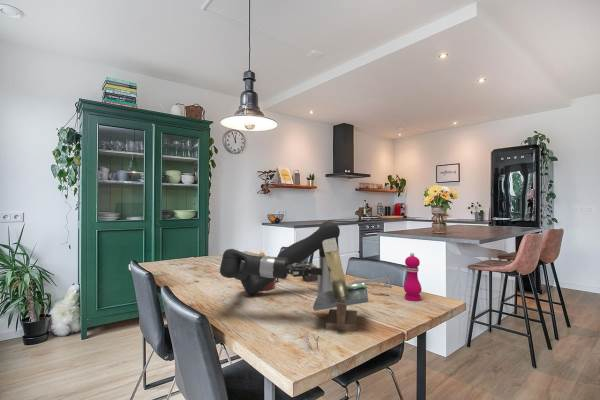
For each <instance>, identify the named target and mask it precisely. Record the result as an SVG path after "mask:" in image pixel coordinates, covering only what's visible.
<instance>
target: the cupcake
mask: <svg viewBox="0 0 600 400" xmlns="http://www.w3.org/2000/svg"><path fill="white" fill-rule="evenodd" d="M302 264H306V265H310V266H311V267H313V268H318V266H317V265H315V263H313V262H312V261H309V262H307V261H303V263H302ZM301 277H302V281H304V282H307V283H314V282H318V275H312V274H311V275H309V276H301Z"/></svg>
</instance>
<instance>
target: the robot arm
mask: <svg viewBox="0 0 600 400" xmlns="http://www.w3.org/2000/svg"><path fill="white" fill-rule="evenodd" d="M340 233H341V230H340V227H339V226H338V224H336V223H335V222H334V221H331V220H328V221H327V220H326V221H323V222H322V223H321V224H320V225H319V227H318V229H316V230H315V231H314V232H313V233H312V234H310V235H308V236H307V237H305V238H303V239H300V240H298V241H295V242H294V243H292V244H290V245H289V246H287V247H286V248H284V249H283V250H281V251H280V252H278V255H277V256H270V255H267V256H268V257H262V256H259V255H252V254H247V253H245V252H242V251H239V250H237V249H234V248H229V249H226V250H225V251H224V252H223V254H222V257H221V264H220V267H219V273H220V275H221V276H222V277H223V278H227V279H235V280H237V281H240V283H241V285H242V287H243V290H244V291H245V292H246V293H245V294H247V296H253V295H256V294H257V293H259V292H261V290H262V289H263V288H265V287H266V286H267V285H269V284H270V283H271V282H272V281H274V280H275V281H276V280H286V279H287V277H288V275H291V276H292V277H294V278H296V277H302V276H309V275H311V274H312V275H318V280H317V294H319V293H321V292H327V291H333V289H332V285H331V280H330V276H329V271H328V266H327V262H326V257H325V253H324V249H323V244H322V242H323V241H324V240H326V239H331V238H336V243H337V248H338V250H339V251H340V249H339V248H340V247H339V236H340ZM316 251H318V254H319V255H318V256H319V257H318V259H319V260H318V262H319V264H318V265H319V266H318V267H317V268H313V267H311V266H310V265H306V264H303V263H302V262H305V260H307V258H309V257H311V256H312V255H313V254H314V253H315V252H316ZM261 276H263V277H264V278H263V279H262V277H261Z"/></svg>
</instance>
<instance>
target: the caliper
mask: <svg viewBox="0 0 600 400" xmlns="http://www.w3.org/2000/svg"><path fill="white" fill-rule="evenodd" d="M351 283H352V284H358V283H365V284H368V283H369V284H370V283H377V284H382V283H383V284H384V286H385V288H388V287H389V288H391V287H392V279H391V277H390V276H389V275H385V276H384V277H376V278H371V279H358V280H353V281H351Z"/></svg>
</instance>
